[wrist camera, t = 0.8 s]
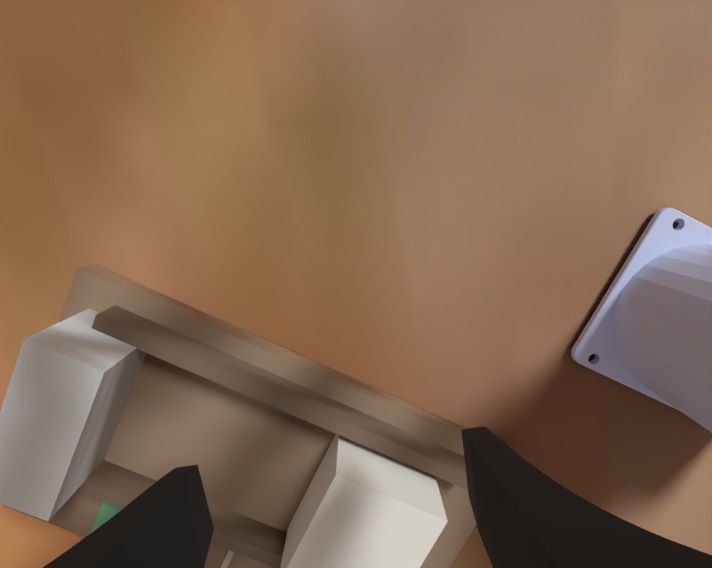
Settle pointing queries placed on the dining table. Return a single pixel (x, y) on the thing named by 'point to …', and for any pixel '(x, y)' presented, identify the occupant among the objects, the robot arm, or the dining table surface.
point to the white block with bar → (364, 513)
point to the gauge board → (196, 422)
